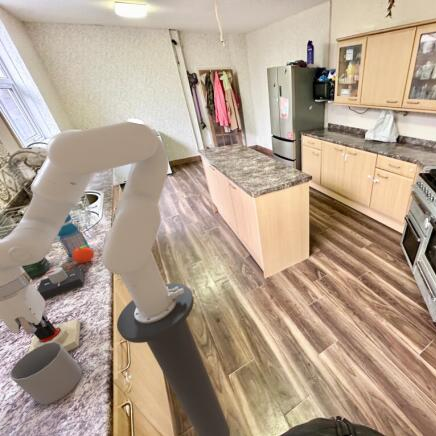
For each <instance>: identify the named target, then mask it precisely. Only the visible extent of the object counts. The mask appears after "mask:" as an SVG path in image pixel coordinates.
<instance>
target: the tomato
mask: <svg viewBox="0 0 436 436" xmlns="http://www.w3.org/2000/svg"><path fill="white" fill-rule="evenodd" d="M85 246H90V248H89V247H85ZM85 246H82V247H79V248H77V249H76V250H75V251H74V252H73V254H72V257H73V261H75V262H76V263H80V264H85V263H88V262H90V261H91V260H92V259H93V258H94V256H95V253H94V249H92V248H93V245H90V244H88V245H85Z"/></svg>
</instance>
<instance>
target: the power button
mask: <svg viewBox="0 0 436 436" xmlns="http://www.w3.org/2000/svg"><path fill="white" fill-rule="evenodd" d="M55 329H56V330H55V334H53V335H51V336H49V337H47V338H44V339H42V340H40V341H41V342H42V343H44V342H47V341H49V340H52V339H53V338H54V337H56V336H57V335H58V334H59V333H60V330H59V329H58V328H55Z"/></svg>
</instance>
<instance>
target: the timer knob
mask: <svg viewBox="0 0 436 436" xmlns="http://www.w3.org/2000/svg"><path fill="white" fill-rule="evenodd" d="M65 272H66V271H65V269H64V268H63V267H61V266H58V267H55V268H52V269H50V270H49V271H46V272H45V275H46V277H47V278H49V279H50V280H51V282H52V283H53V284H56V283H60V282H62V281H64V280H65V279H67V277H68V276H67V274H66V273H65Z"/></svg>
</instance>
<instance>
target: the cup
mask: <svg viewBox="0 0 436 436" xmlns="http://www.w3.org/2000/svg"><path fill="white" fill-rule="evenodd" d="M28 352H29V351H28ZM28 352H27V353H25V354H24V355H23V356H22V357H21V358H20V359H18V361H17V362H16V363H15V364H14V365H13V367H12V368H11V370H10V376H9V378H10V379H11V380H13V382H14V383H15V384H17V385H18V386H19V387H20V388H21V389H22V390H23V391H24V392H26V393H27V394H28V395H29V396H30V398H32V399H33V400H35V402H37V403H38V404H40V405H43V406H44V405H49V404H53V403H54V402H57V401H59V400H61V399H62V398H64V397H65V396H67V395H68V394H69V393H70V392H71V391H73V389H74V388H75V387H76V386H77V384H78V383H79V382H80V380H81V377H82V375H83V372H82V371H83V370H82V367H80V365H79V364H78V363H77V361H75V359H74V358H73V357H72V355H71V354H70V353H69V351H68V352H67V351H66V350H65V349H64V347H63V346H62V345H61V344H60V343H57V342H52V343H46V344H44V345H42V346H39V347H37V348H35V349H33V350H32V351H30V352H29V353H28Z"/></svg>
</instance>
